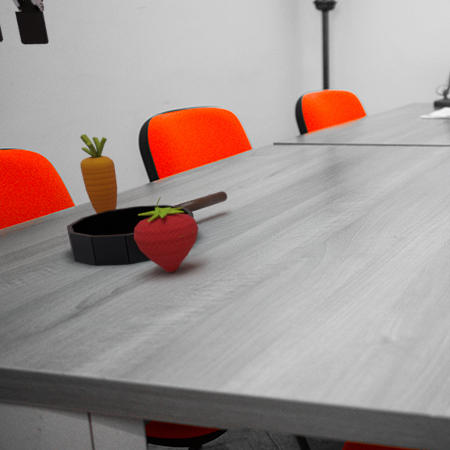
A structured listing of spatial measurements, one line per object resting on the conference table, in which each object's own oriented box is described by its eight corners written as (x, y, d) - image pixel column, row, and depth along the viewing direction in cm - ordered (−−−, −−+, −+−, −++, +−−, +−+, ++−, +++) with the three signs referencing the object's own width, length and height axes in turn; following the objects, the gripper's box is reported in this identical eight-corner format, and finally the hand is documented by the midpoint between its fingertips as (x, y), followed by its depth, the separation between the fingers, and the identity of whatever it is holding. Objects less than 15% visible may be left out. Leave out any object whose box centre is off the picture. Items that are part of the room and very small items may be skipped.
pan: (127, 271, 73) (121, 241, 72) (47, 255, 80) (41, 227, 79) (264, 217, 96) (262, 194, 95) (193, 209, 103) (190, 186, 102)
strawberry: (209, 272, 72) (199, 195, 69) (145, 286, 68) (132, 205, 65) (196, 259, 77) (186, 186, 74) (136, 272, 73) (123, 195, 70)
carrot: (131, 223, 95) (115, 132, 91) (103, 231, 91) (85, 136, 87) (112, 219, 98) (97, 131, 93) (84, 227, 94) (67, 135, 89)
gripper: (-7, -96, 72) (22, 45, 77) (-117, -142, 56) (-71, 42, 61) (54, -97, 73) (79, 44, 78) (-37, -142, 56) (2, 40, 61)
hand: (13, 43), depth 69 cm, fingers open, 9 cm apart
